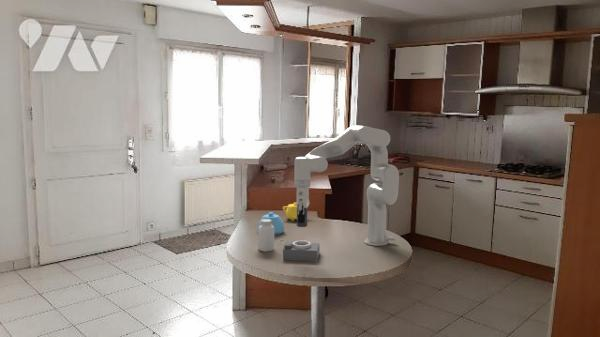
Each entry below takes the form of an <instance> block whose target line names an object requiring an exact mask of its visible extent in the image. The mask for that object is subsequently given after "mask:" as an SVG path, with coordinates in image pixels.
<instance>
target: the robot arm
mask: <svg viewBox="0 0 600 337" xmlns="http://www.w3.org/2000/svg"><path fill="white" fill-rule="evenodd" d="M390 142H391V134H389V132H388V131H387V130H385V129H380V128H374V127H371V126H365V125H355V124H353V125H351V126H349V127H347V129H345V130H344V131H343V132H341V133H340V134H338V136H336V137H334V138H333V139H332V140H329V141H328V142H325V143H323V144H321V145H319V146H316V147H315V148H313V149H312V150H311V151H310V152H308V153H307V154H306V155H305V156H297V157H295V158H294V162H293V163H294V164H293V165H294V173H293V174H294V175H293V176H294V177H293V179H294V184H293V186H294V187H295V188H296V202H295V203H297V208H298V223H304V222H305V214H304V208H307V207H309V206H310V204H309V203H310V192H309V191H310V189H309V188H310V187H311V173H323V172H324V171H326V170H327V168H328V166H329V162H328V161H327V159H329V158H333V157H337V156H341V155H344V154H345V153H346V152H347V151H349V150H350V149H351V148H352V147H354V146H355V145H357V144H363V145H366V146H367V147H368V149H369V151H370V177H371V179H373V180H374V181H377V182H374V183H371V184H369V186H368V187H367V189H366V199H367V206H368V207H367V210H368V211H367V237H366V238H365V239H364V244H366V245H369V246H374V247H375V246H376V247H377V246H378V247H382V246H387V245H389V243H390V242H389V241H393V242H394V241H395V240H396V238H395V236H392V235H387V206H389V205H391V206H392V205H393V204H395V203H396V202H397V199H398V197H399V186H400V184H399V183H400V173H399V170H398V168H397V166H395V165H393V164H390V163H389V156H388V154H389V152H388V148H387V146H389V144H390ZM379 182H381V183H379ZM302 207H303V208H302ZM302 209H303V210H302ZM307 209H308V208H307Z"/></svg>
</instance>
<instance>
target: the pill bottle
mask: <svg viewBox="0 0 600 337" xmlns="http://www.w3.org/2000/svg"><path fill="white" fill-rule="evenodd" d="M260 220H261V219H260ZM271 224H272V221H271V220H270V219H263V220H261V225H260V226H259V228H258V227H257V231H258V233H257V234H258V237H257V240H258V243H257V244H258V250H259V251H261V252H272V251H273V250H275V235H274V226H273V225H271Z"/></svg>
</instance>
